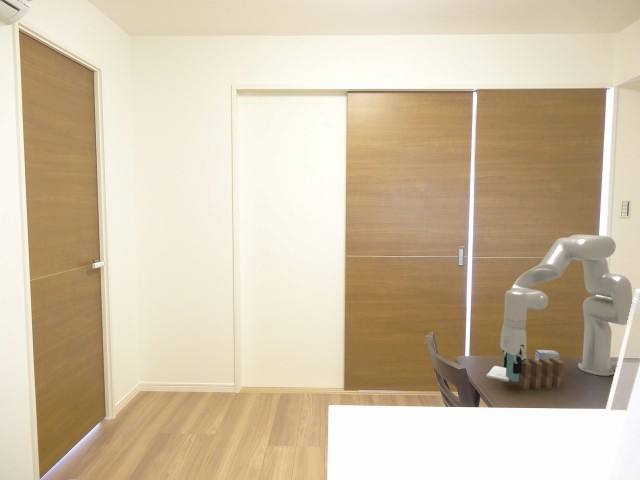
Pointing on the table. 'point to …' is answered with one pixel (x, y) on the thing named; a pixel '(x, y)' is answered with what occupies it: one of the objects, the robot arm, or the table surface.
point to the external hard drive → (498, 374)
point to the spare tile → (511, 368)
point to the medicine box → (546, 354)
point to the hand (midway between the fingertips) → (512, 369)
